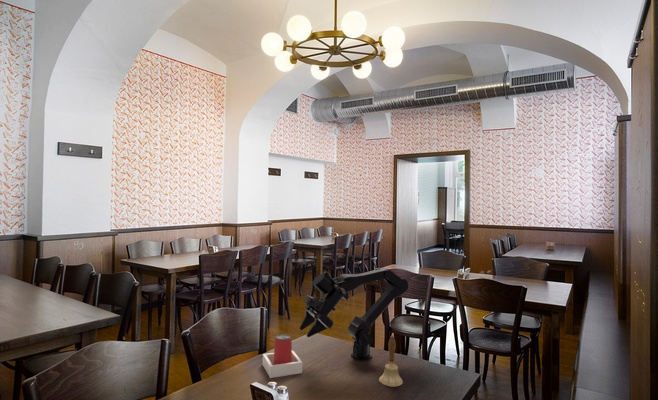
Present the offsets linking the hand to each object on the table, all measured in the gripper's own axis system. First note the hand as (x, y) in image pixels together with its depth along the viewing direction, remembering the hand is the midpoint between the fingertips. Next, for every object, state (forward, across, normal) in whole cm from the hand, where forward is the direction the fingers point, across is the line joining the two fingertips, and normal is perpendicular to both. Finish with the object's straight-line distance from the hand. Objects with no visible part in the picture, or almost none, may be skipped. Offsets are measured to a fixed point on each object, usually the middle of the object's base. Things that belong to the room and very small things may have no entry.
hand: (303, 332), depth 147 cm
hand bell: (-8, +22, +28) cm, 36 cm away
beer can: (+15, 0, +3) cm, 15 cm away
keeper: (+15, 0, +3) cm, 15 cm away
